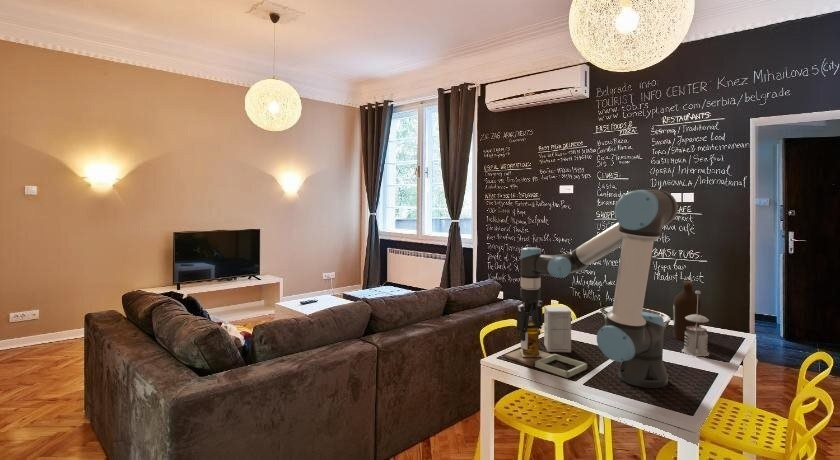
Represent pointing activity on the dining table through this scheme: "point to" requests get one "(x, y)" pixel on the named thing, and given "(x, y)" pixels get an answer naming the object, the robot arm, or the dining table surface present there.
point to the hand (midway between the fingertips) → (529, 346)
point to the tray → (580, 367)
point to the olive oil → (685, 310)
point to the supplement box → (557, 328)
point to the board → (525, 360)
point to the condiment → (532, 341)
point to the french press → (696, 335)
